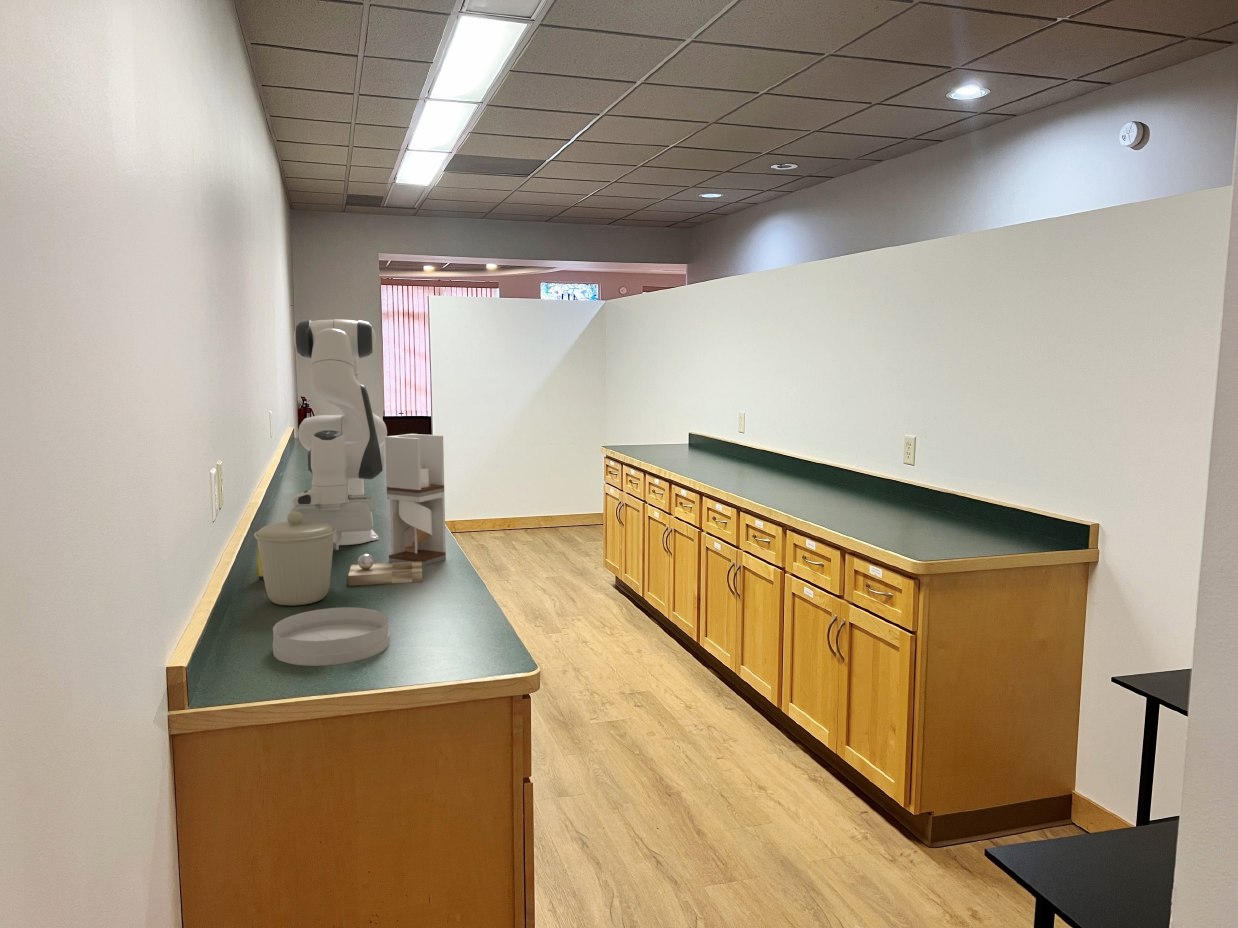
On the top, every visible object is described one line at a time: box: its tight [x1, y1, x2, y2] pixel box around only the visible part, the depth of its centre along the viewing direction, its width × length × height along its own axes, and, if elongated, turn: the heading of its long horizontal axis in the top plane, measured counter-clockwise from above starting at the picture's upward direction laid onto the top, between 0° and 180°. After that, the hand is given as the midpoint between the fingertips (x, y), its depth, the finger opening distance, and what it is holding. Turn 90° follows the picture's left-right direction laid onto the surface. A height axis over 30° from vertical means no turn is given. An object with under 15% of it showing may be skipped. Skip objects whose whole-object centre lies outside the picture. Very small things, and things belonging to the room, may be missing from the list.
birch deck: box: [347, 561, 423, 587], centre depth 227 cm, size 12×18×2 cm, turn 103°
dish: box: [272, 606, 391, 667], centre depth 174 cm, size 22×22×5 cm
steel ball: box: [357, 553, 375, 570], centre depth 226 cm, size 4×4×4 cm
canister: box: [253, 512, 337, 607], centre depth 205 cm, size 18×18×21 cm
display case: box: [384, 433, 447, 567], centre depth 245 cm, size 11×11×35 cm
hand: (332, 549), depth 223 cm, fingers closed
